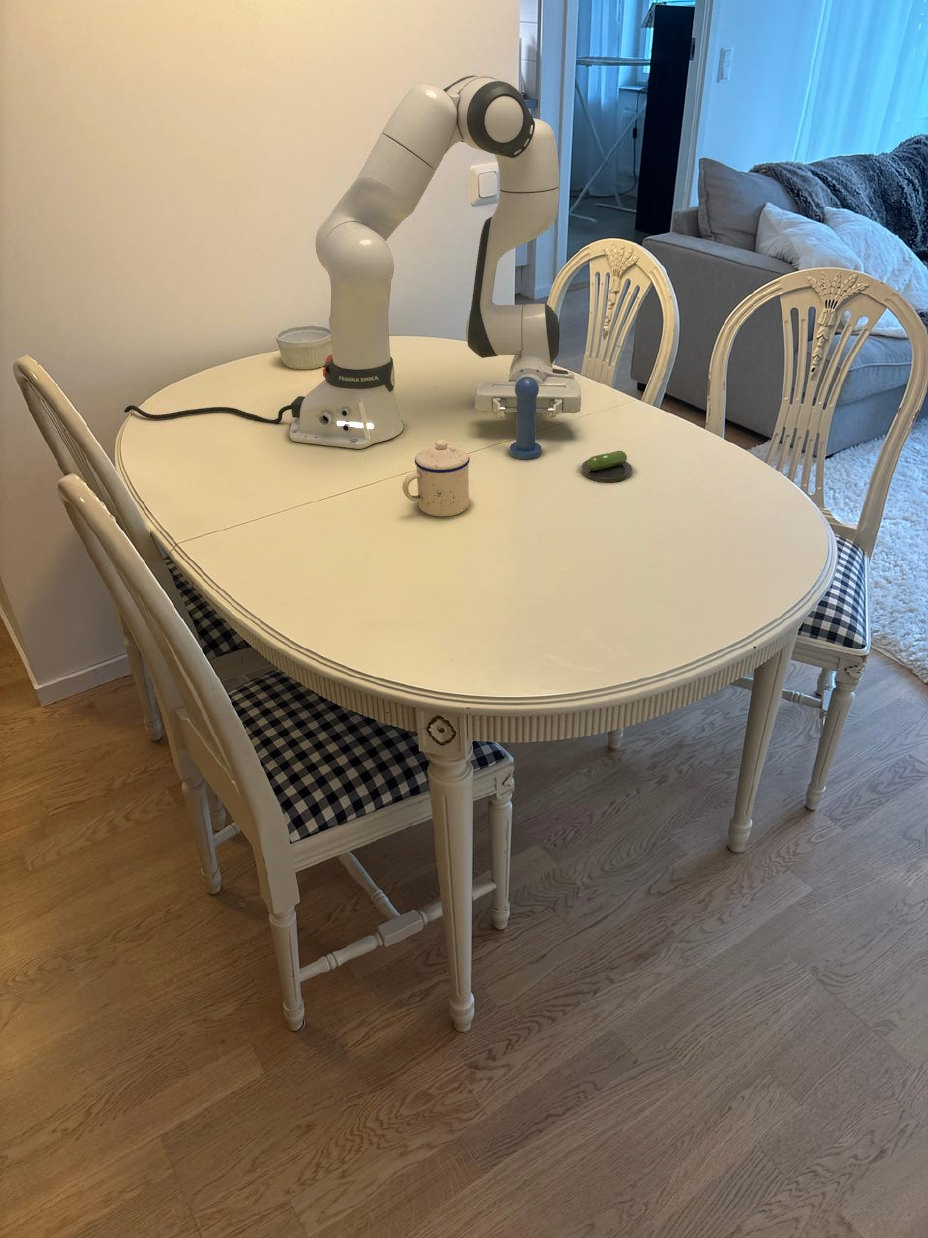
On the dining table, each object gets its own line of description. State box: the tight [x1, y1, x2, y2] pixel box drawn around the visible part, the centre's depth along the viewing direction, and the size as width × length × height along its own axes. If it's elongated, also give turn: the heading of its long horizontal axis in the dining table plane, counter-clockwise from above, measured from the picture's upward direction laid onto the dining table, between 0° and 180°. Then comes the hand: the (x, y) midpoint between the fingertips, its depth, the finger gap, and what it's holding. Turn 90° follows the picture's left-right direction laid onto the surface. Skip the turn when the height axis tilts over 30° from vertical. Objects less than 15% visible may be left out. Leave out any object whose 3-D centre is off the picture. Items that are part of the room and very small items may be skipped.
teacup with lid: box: [402, 439, 471, 517], centre depth 151 cm, size 12×9×12 cm
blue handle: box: [509, 377, 543, 461], centre depth 168 cm, size 6×6×15 cm
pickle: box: [581, 450, 633, 483], centre depth 164 cm, size 9×9×3 cm
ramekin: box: [275, 324, 332, 371], centre depth 215 cm, size 13×13×7 cm
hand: (526, 413), depth 169 cm, fingers open, 8 cm apart
